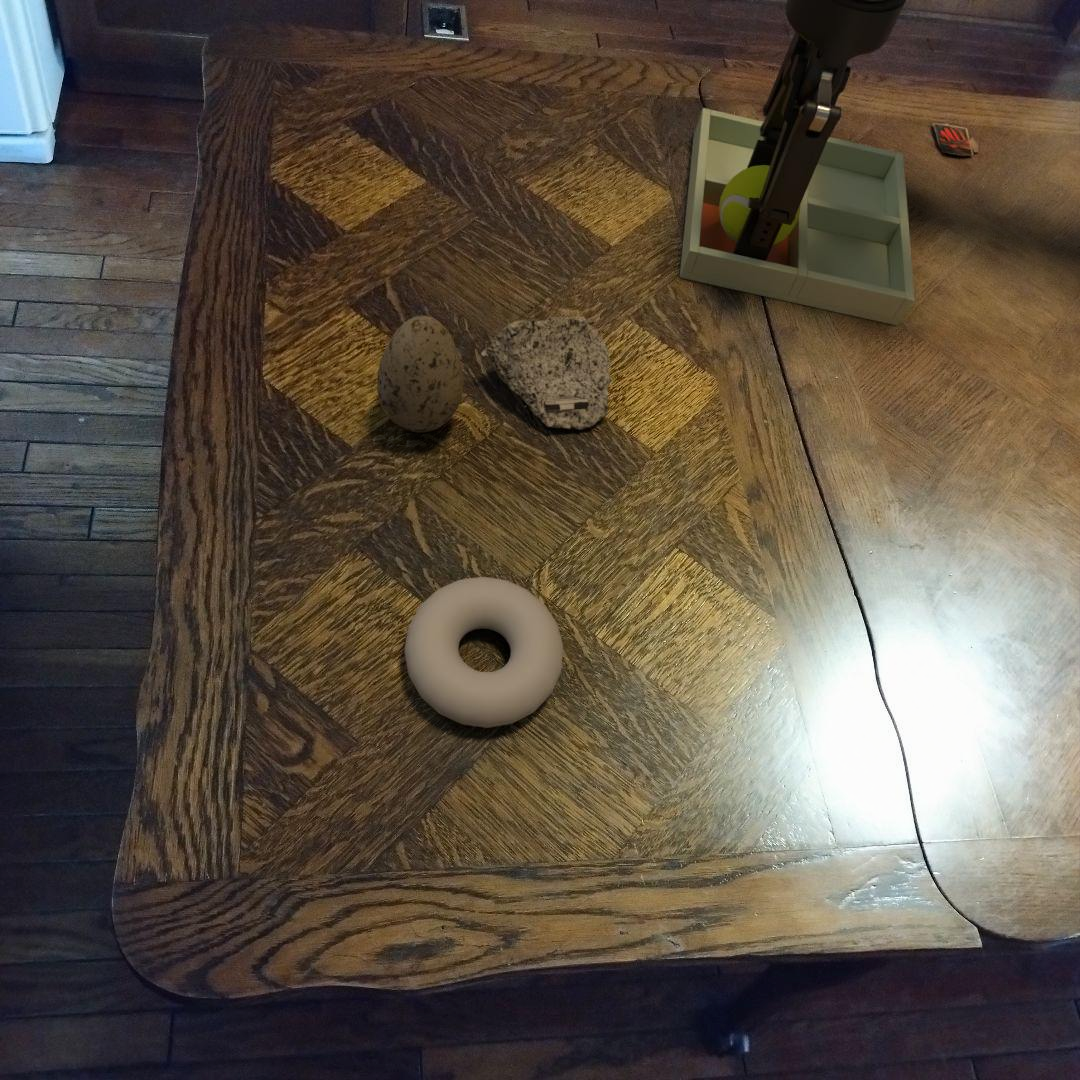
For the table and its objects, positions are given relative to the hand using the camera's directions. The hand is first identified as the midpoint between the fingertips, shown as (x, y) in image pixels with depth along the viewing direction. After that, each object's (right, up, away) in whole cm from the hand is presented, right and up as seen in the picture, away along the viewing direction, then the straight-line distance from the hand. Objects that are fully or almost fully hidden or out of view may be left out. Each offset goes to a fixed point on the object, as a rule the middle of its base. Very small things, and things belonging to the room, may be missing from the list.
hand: (747, 235), depth 85 cm
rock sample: (-16, -15, -9) cm, 24 cm away
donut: (-22, -34, -22) cm, 46 cm away
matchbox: (+24, +14, +15) cm, 31 cm away
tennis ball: (0, 0, 0) cm, 1 cm away
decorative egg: (-27, -17, -13) cm, 35 cm away
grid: (+5, +2, +4) cm, 7 cm away
